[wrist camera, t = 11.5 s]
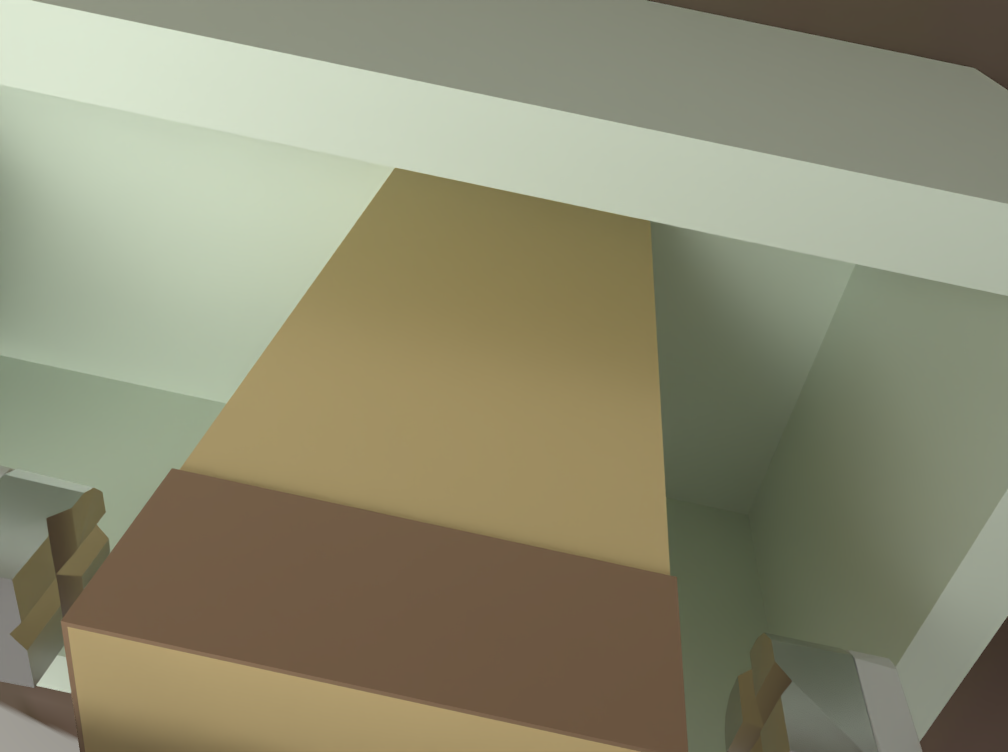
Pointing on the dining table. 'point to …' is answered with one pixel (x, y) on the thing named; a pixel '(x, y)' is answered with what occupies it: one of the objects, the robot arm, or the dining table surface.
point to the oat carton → (414, 510)
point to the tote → (573, 180)
